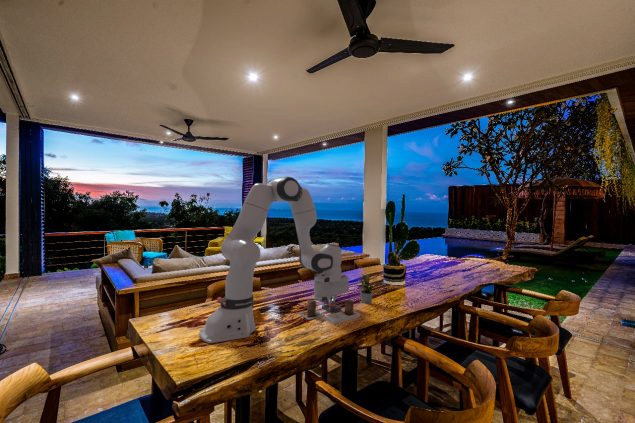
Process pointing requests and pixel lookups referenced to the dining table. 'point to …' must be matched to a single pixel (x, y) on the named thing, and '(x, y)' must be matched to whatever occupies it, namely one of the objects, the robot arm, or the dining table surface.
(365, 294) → the house plant
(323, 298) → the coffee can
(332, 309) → the button housing
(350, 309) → the billet
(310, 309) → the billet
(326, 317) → the plate
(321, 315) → the parts tray
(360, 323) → the dining table surface
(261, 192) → the robot arm
